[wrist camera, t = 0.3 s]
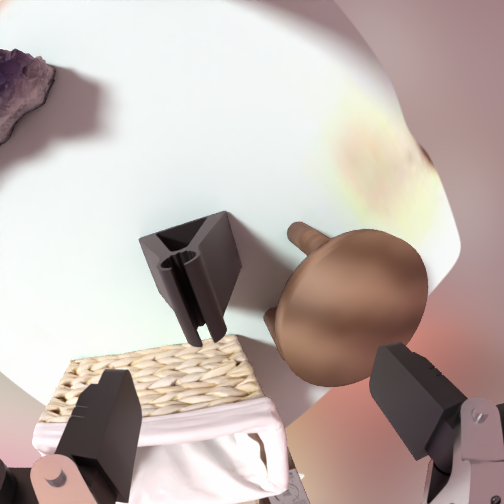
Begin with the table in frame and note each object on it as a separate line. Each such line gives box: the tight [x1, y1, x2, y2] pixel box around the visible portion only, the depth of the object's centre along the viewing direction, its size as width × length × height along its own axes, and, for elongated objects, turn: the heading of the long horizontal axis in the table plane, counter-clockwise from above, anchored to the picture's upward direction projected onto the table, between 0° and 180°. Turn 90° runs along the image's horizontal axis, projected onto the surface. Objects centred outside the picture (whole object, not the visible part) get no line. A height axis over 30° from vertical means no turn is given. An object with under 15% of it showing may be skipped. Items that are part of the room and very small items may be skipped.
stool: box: [264, 222, 428, 387], centre depth 30 cm, size 16×16×9 cm
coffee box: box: [255, 447, 310, 504], centre depth 35 cm, size 9×6×16 cm
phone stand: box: [139, 211, 242, 347], centre depth 24 cm, size 9×6×12 cm, turn 105°
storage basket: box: [32, 335, 289, 504], centre depth 27 cm, size 24×16×15 cm
